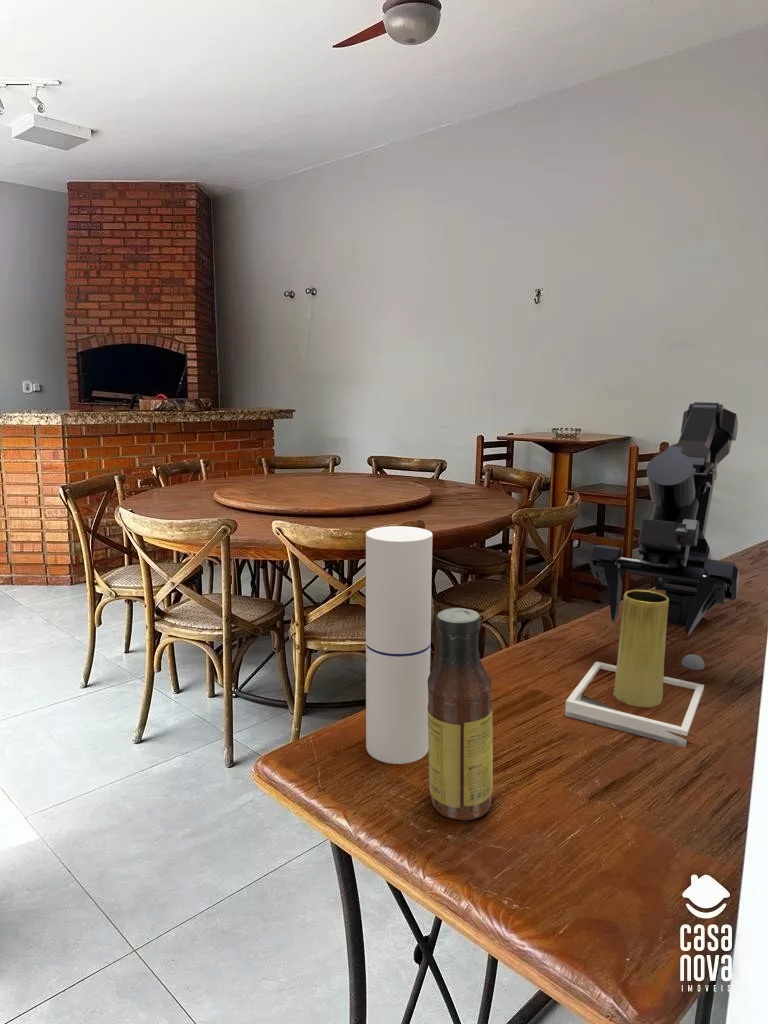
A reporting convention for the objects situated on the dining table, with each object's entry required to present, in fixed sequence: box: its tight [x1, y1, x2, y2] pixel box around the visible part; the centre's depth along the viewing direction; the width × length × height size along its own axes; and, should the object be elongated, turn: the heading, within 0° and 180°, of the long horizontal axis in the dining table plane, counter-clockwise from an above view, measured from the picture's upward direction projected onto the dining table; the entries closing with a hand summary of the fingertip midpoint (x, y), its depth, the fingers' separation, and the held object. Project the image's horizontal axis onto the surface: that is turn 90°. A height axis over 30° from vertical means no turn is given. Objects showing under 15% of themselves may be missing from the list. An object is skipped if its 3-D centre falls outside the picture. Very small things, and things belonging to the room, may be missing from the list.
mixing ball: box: [680, 653, 705, 671], centre depth 97 cm, size 3×3×3 cm
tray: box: [564, 661, 705, 748], centre depth 87 cm, size 14×14×2 cm
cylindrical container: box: [365, 525, 434, 765], centre depth 76 cm, size 7×7×25 cm
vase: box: [612, 589, 669, 708], centre depth 86 cm, size 6×6×14 cm
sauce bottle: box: [428, 607, 494, 821], centre depth 66 cm, size 7×6×20 cm
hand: (649, 626), depth 90 cm, fingers open, 9 cm apart
